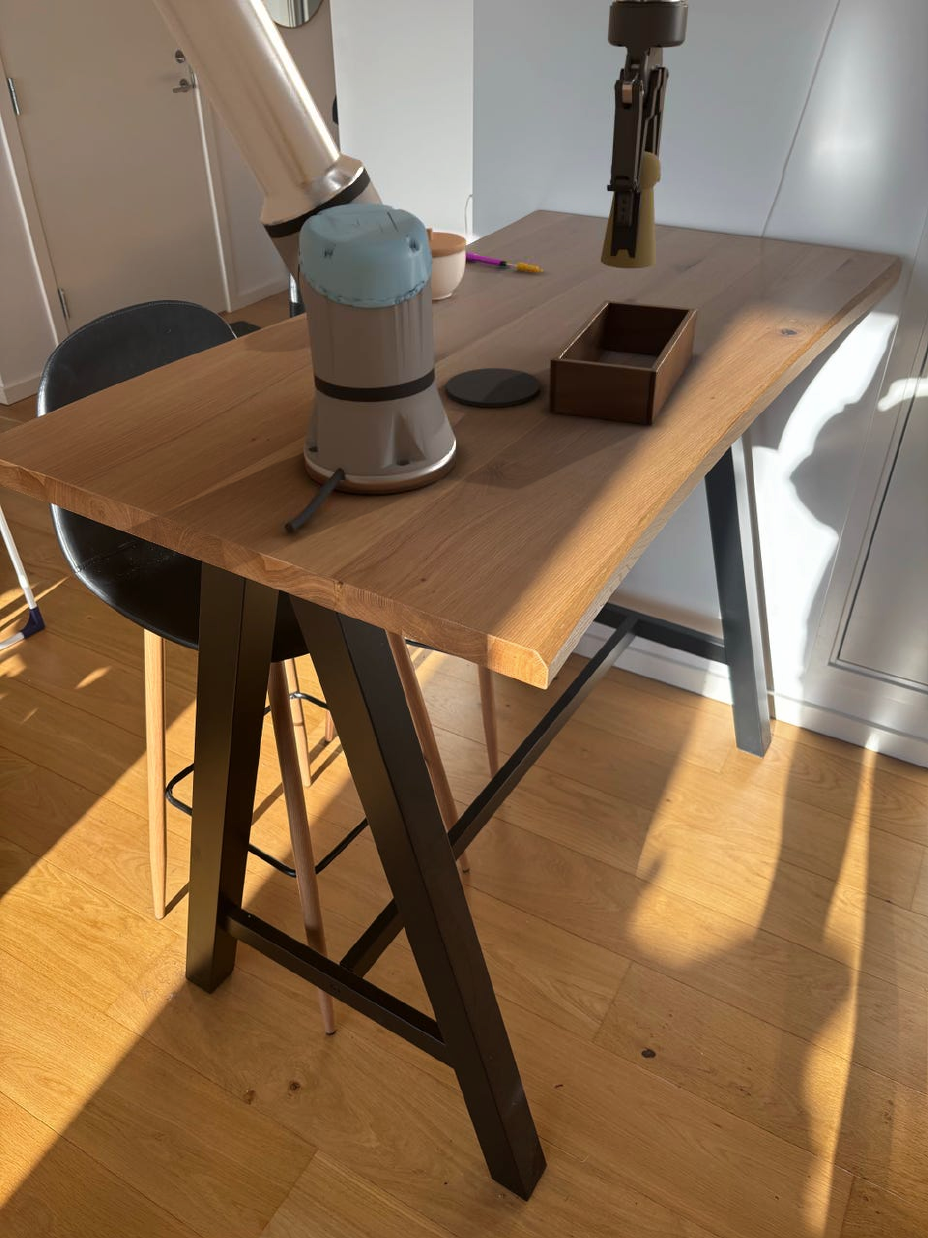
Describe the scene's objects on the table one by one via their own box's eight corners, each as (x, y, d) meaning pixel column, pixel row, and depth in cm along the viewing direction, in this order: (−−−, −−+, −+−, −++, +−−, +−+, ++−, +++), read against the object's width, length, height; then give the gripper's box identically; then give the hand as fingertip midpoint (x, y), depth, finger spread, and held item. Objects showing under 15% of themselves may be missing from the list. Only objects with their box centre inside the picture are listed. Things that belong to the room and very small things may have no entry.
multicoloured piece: (458, 259, 162) (539, 274, 154) (459, 251, 162) (540, 266, 154) (468, 259, 164) (548, 274, 156) (469, 252, 164) (549, 266, 156)
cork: (630, 271, 104) (640, 158, 98) (589, 260, 108) (595, 151, 102) (667, 261, 108) (678, 151, 102) (625, 251, 112) (634, 144, 105)
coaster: (522, 412, 109) (522, 407, 109) (431, 400, 113) (431, 395, 112) (552, 378, 118) (552, 373, 117) (466, 368, 121) (466, 363, 121)
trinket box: (442, 308, 141) (440, 240, 136) (381, 298, 146) (377, 232, 140) (480, 289, 149) (479, 224, 143) (421, 280, 153) (418, 217, 148)
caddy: (651, 425, 106) (656, 371, 102) (548, 411, 109) (550, 359, 106) (691, 356, 123) (697, 308, 119) (601, 346, 126) (604, 299, 123)
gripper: (669, 2, 87) (644, 273, 100) (704, -6, 100) (678, 235, 113) (587, 1, 89) (573, 267, 102) (632, -6, 102) (614, 230, 115)
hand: (628, 250), depth 107 cm, fingers closed on cork, 4 cm apart
